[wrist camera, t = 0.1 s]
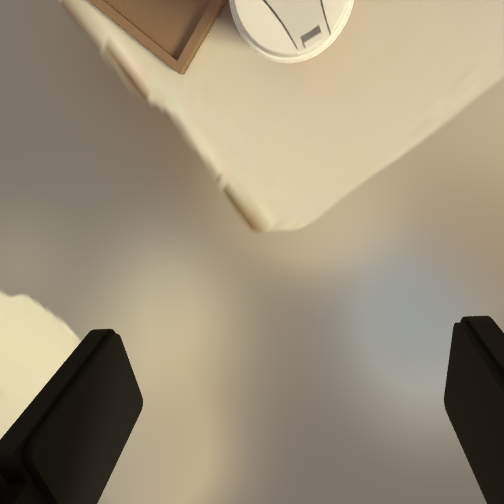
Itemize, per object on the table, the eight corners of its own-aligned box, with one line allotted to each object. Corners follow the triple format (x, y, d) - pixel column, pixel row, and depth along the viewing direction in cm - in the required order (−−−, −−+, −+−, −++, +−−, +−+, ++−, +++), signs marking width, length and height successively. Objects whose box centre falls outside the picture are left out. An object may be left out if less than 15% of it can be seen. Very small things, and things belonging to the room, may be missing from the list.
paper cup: (349, 40, 33) (380, 15, 20) (275, 84, 35) (263, 86, 23) (313, -52, 30) (323, -145, 18) (237, 2, 33) (198, -46, 20)
